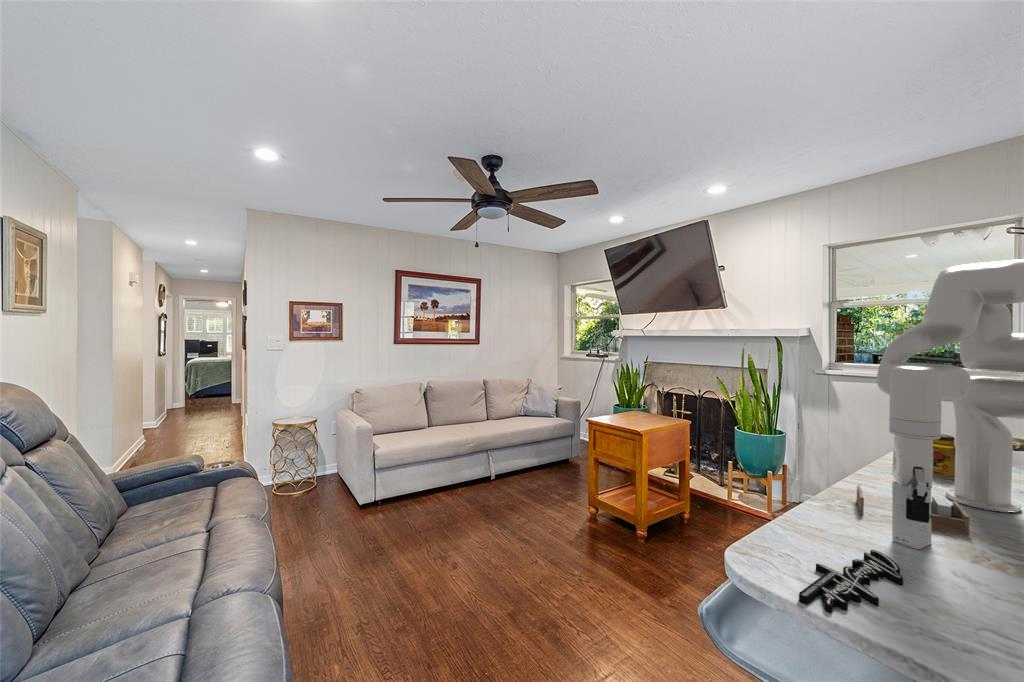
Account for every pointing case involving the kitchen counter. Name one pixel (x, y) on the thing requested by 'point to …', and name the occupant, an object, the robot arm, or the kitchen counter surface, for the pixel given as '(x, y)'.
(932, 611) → the kitchen counter surface
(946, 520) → the walnut rack
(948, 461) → the condiment
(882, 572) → the nameplate
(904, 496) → the skincare box
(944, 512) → the slate offcut
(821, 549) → the kitchen counter surface
